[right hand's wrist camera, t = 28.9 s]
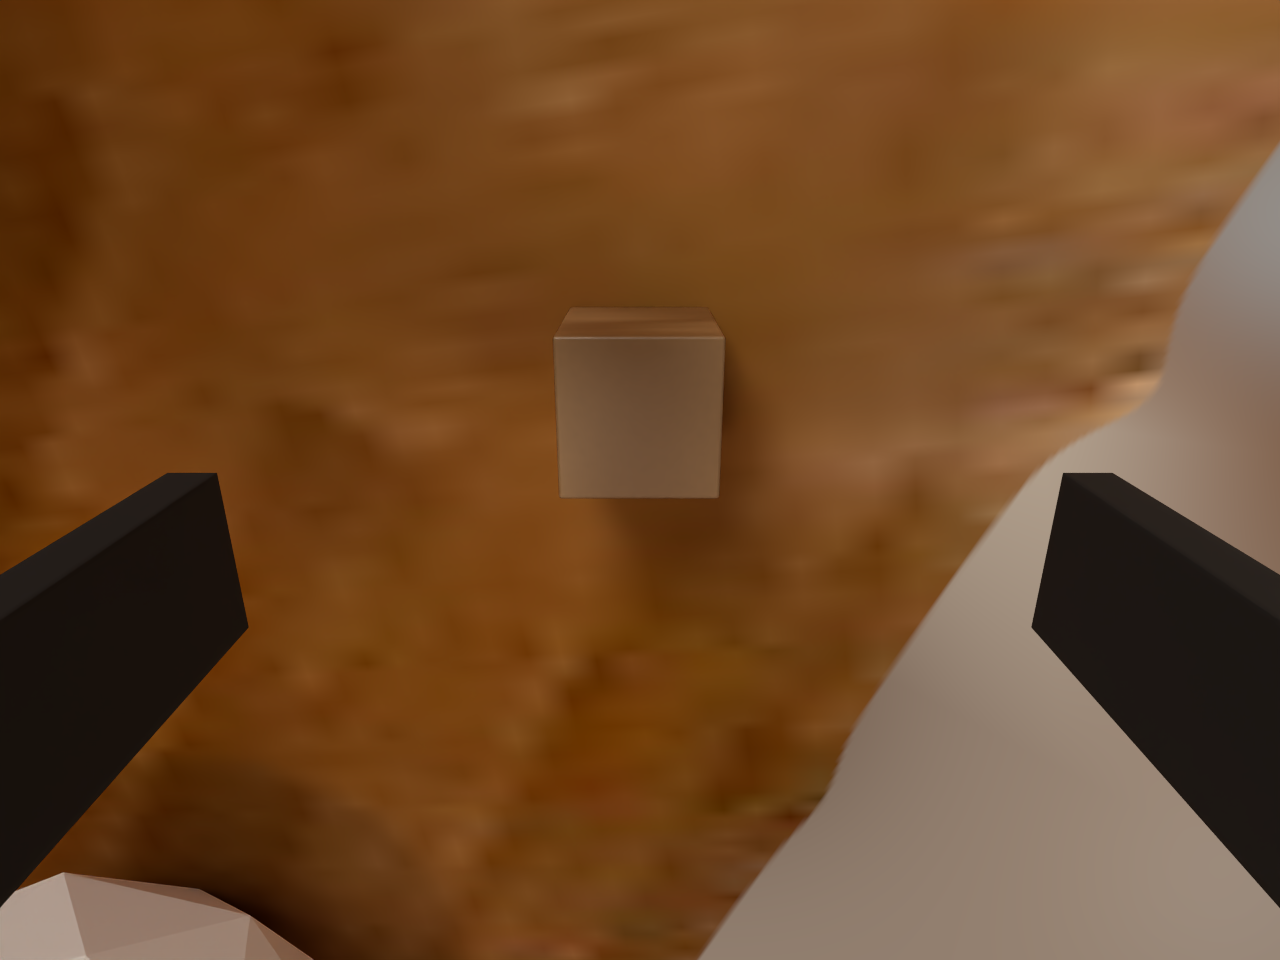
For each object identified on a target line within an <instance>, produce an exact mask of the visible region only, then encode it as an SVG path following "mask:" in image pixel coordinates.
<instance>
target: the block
mask: <svg viewBox="0 0 1280 960" xmlns="http://www.w3.org/2000/svg"><path fill="white" fill-rule="evenodd" d="M553 355H554V381H555V406H556V432H557V457H558V483H559V496H560V498H718V497H719V492H720V466H721V441H722V415H723V389H724V364H725V337H724V335H723V333H722V331H721V330H720V328H719V326H718V324H717V323H716V321H715V319H714V317H713V315H712V314H711V312H710V310H709V308H707V307H571V308H570V309H569V311H568V313H567V314H566V316H565V318H564V320H563V321H562V323H561V325H560V327H559V328H558V330H557V332H556V334H555V335H554V338H553Z"/></svg>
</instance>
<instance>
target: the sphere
mask: <svg viewBox="0 0 1280 960" xmlns="http://www.w3.org/2000/svg"><path fill="white" fill-rule="evenodd" d="M0 960H314V959H312V958H311V957H309V956H308V955H306V954H305V953H304V952H302V951H301V950H299V949H298V948H296V947H295V946H293V945H292V944H291V943H289V942H288V941H286V940H285V939H283V938H282V937H280V936H279V935H278V934H276V933H275V932H273V931H272V930H270V929H269V928H267V927H266V926H265V925H263V924H262V923H260V922H259V921H257V920H256V919H255V918H253V917H252V916H250V915H248V914H246V913H244V912H243V911H241V910H239V909H237V908H235V907H233V906H231V905H229V904H227V903H225V902H223V901H221V900H220V899H218V898H216V897H214V896H212V895H210V894H208V893H206V892H204V891H202V890H200V889H196V888H188V887H180V886H171V885H163V884H155V883H146V882H138V881H130V880H122V879H113V878H105V877H97V876H89V875H80V874H72V873H64V872H63V873H60V874H58V875H55V876H53V877H50V878H48V879H45V880H43V881H40V882H38V883H35V884H33V885H30V886H27V887H25V888H22V889H20V890H17V891H15V892H14V893H13V894H12V895H11V896H10V897H9V899H8V900H7V901H6V902H5V903H4V904H3V905H2V906H1V908H0Z"/></svg>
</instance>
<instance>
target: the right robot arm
mask: <svg viewBox="0 0 1280 960" xmlns="http://www.w3.org/2000/svg"><path fill="white" fill-rule="evenodd" d="M247 628H248V622H247V617H246V613H245V608H244V603H243V598H242V593H241V588H240V583H239V578H238V574H237V569H236V564H235V559H234V554H233V549H232V544H231V539H230V535H229V530H228V525H227V520H226V515H225V510H224V505H223V500H222V496H221V491H220V486H219V481H218V476H217V473H167V474H165V475H163V476H162V477H160V478H158V479H157V480H155V481H154V482H152V483H150V484H149V485H147V486H145V487H144V488H142V489H140V490H139V491H137V492H135V493H134V494H132V495H131V496H129V497H127V498H126V499H124V500H122V501H121V502H119V503H117V504H116V505H114V506H113V507H111V508H109V509H108V510H106V511H104V512H103V513H101V514H99V515H98V516H96V517H94V518H93V519H91V520H90V521H88V522H86V523H85V524H83V525H81V526H80V527H78V528H76V529H75V530H73V531H72V532H70V533H68V534H67V535H65V536H63V537H62V538H60V539H58V540H57V541H55V542H53V543H52V544H50V545H49V546H47V547H45V548H44V549H42V550H40V551H39V552H37V553H35V554H34V555H32V556H30V557H29V558H27V559H26V560H24V561H22V562H21V563H19V564H17V565H16V566H14V567H12V568H11V569H9V570H8V571H6V572H4V573H3V574H1V575H0V908H1V906H2V905H3V904H4V903H5V902H6V901H7V900H8V899H9V897H10V896H11V895H12V894H13V893H14V892H15V891H16V889H17V888H18V887H19V886H20V885H21V884H22V883H23V882H24V880H25V879H26V878H27V877H28V876H29V875H30V874H31V873H32V871H33V870H34V869H35V868H36V867H37V866H38V865H39V863H40V862H41V861H42V860H43V859H44V858H45V857H46V856H47V854H48V853H49V852H50V851H51V850H52V849H53V848H54V847H55V845H56V844H57V843H58V842H59V841H60V840H61V839H62V838H63V836H64V835H65V834H66V833H67V832H68V831H69V830H70V828H71V827H72V826H73V825H74V824H75V823H76V822H77V821H78V819H79V818H80V817H81V816H82V815H83V814H84V813H85V812H86V810H87V809H88V808H89V807H90V806H91V805H92V804H93V802H94V801H95V800H96V799H97V798H98V797H99V796H100V795H101V793H102V792H103V791H104V790H105V789H106V788H107V787H108V786H109V784H110V783H111V782H112V781H113V780H114V779H115V778H116V776H117V775H118V774H119V773H120V772H121V771H122V770H123V769H124V767H125V766H126V765H127V764H128V763H129V762H130V761H131V760H132V758H133V757H134V756H135V755H136V754H137V753H138V752H139V751H140V749H141V748H142V747H143V746H144V745H145V744H146V743H147V741H148V740H149V739H150V738H151V737H152V736H153V735H154V734H155V732H156V731H157V730H158V729H159V728H160V727H161V726H162V725H163V723H164V722H165V721H166V720H167V719H168V718H169V717H170V715H171V714H172V713H173V712H174V711H175V710H176V709H177V708H178V706H179V705H180V704H181V703H182V702H183V701H184V700H185V699H186V697H187V696H188V695H189V694H190V693H191V692H192V691H193V689H194V688H195V687H196V686H197V685H198V684H199V683H200V682H201V680H202V679H203V678H204V677H205V676H206V675H207V674H208V673H209V671H210V670H211V669H212V668H213V667H214V666H215V665H216V664H217V662H218V661H219V660H220V659H221V658H222V657H223V656H224V654H225V653H226V652H227V651H228V650H229V649H230V648H231V647H232V645H233V644H234V643H235V642H236V641H237V640H238V639H239V638H240V636H241V635H242V634H243V633H244V632H245V631H246V630H247ZM1032 628H1033V630H1034V631H1035V632H1036V633H1037V634H1038V635H1039V636H1040V638H1041V639H1042V640H1043V641H1044V642H1045V643H1046V644H1047V645H1048V647H1049V648H1050V649H1051V650H1052V651H1053V652H1054V653H1055V654H1056V656H1057V657H1058V658H1059V659H1060V660H1061V661H1062V662H1063V664H1064V665H1065V666H1066V667H1067V668H1068V669H1069V670H1070V671H1071V672H1072V674H1073V675H1074V676H1075V677H1076V678H1077V679H1078V680H1079V682H1080V683H1081V684H1082V685H1083V686H1084V687H1085V688H1086V690H1087V691H1088V692H1089V693H1090V694H1091V695H1092V696H1093V697H1094V698H1095V700H1096V701H1097V702H1098V703H1099V704H1100V705H1101V706H1102V708H1103V709H1104V710H1105V711H1106V712H1107V713H1108V714H1109V715H1110V717H1111V718H1112V719H1113V720H1114V721H1115V722H1116V723H1117V725H1118V726H1119V727H1120V728H1121V729H1122V730H1123V731H1124V732H1125V733H1126V735H1127V736H1128V737H1129V738H1130V739H1131V740H1132V741H1133V743H1134V744H1135V745H1136V746H1137V747H1138V748H1139V749H1140V751H1141V752H1142V753H1143V754H1144V755H1145V756H1146V757H1147V758H1148V760H1149V761H1150V762H1151V763H1152V764H1153V765H1154V766H1155V767H1156V769H1157V770H1158V771H1159V772H1160V773H1161V774H1162V775H1163V776H1164V778H1165V779H1166V780H1167V781H1168V782H1169V783H1170V784H1171V786H1172V787H1173V788H1174V789H1175V790H1176V791H1177V792H1178V793H1179V795H1180V796H1181V797H1182V798H1183V799H1184V800H1185V801H1186V802H1187V804H1188V805H1189V806H1190V807H1191V808H1192V809H1193V810H1194V812H1195V813H1196V814H1197V815H1198V816H1199V817H1200V818H1201V819H1202V821H1203V822H1204V823H1205V824H1206V825H1207V826H1208V827H1209V828H1210V830H1211V831H1212V832H1213V833H1214V834H1215V835H1216V836H1217V838H1218V839H1219V840H1220V841H1221V842H1222V843H1223V844H1224V845H1225V847H1226V848H1227V849H1228V850H1229V851H1230V852H1231V853H1232V854H1233V855H1234V857H1235V858H1236V859H1237V860H1238V861H1239V862H1240V863H1241V865H1242V866H1243V867H1244V868H1245V869H1246V870H1247V871H1248V873H1249V874H1250V875H1251V876H1252V877H1253V878H1254V879H1255V880H1256V882H1257V883H1258V884H1259V885H1260V886H1261V887H1262V888H1263V889H1264V891H1265V892H1266V893H1267V894H1268V895H1269V896H1270V897H1271V899H1272V900H1273V901H1274V902H1275V903H1276V904H1277V905H1278V906H1279V908H1280V575H1279V574H1277V573H1276V572H1274V571H1272V570H1271V569H1269V568H1268V567H1266V566H1264V565H1263V564H1261V563H1259V562H1258V561H1256V560H1254V559H1253V558H1251V557H1250V556H1248V555H1246V554H1245V553H1243V552H1241V551H1240V550H1238V549H1236V548H1235V547H1233V546H1231V545H1230V544H1228V543H1226V542H1225V541H1223V540H1222V539H1220V538H1218V537H1217V536H1215V535H1213V534H1212V533H1210V532H1208V531H1207V530H1205V529H1204V528H1202V527H1200V526H1199V525H1197V524H1195V523H1194V522H1192V521H1190V520H1189V519H1187V518H1186V517H1184V516H1182V515H1181V514H1179V513H1177V512H1176V511H1174V510H1172V509H1171V508H1169V507H1167V506H1166V505H1164V504H1163V503H1161V502H1159V501H1158V500H1156V499H1154V498H1153V497H1151V496H1149V495H1148V494H1146V493H1144V492H1143V491H1141V490H1140V489H1138V488H1136V487H1135V486H1133V485H1131V484H1130V483H1128V482H1126V481H1125V480H1123V479H1122V478H1120V477H1118V476H1117V475H1115V474H1113V473H1063V476H1062V481H1061V486H1060V491H1059V496H1058V500H1057V505H1056V510H1055V515H1054V520H1053V525H1052V530H1051V535H1050V539H1049V544H1048V549H1047V554H1046V559H1045V564H1044V569H1043V574H1042V578H1041V583H1040V588H1039V593H1038V598H1037V603H1036V608H1035V613H1034V617H1033V622H1032Z"/></svg>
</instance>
